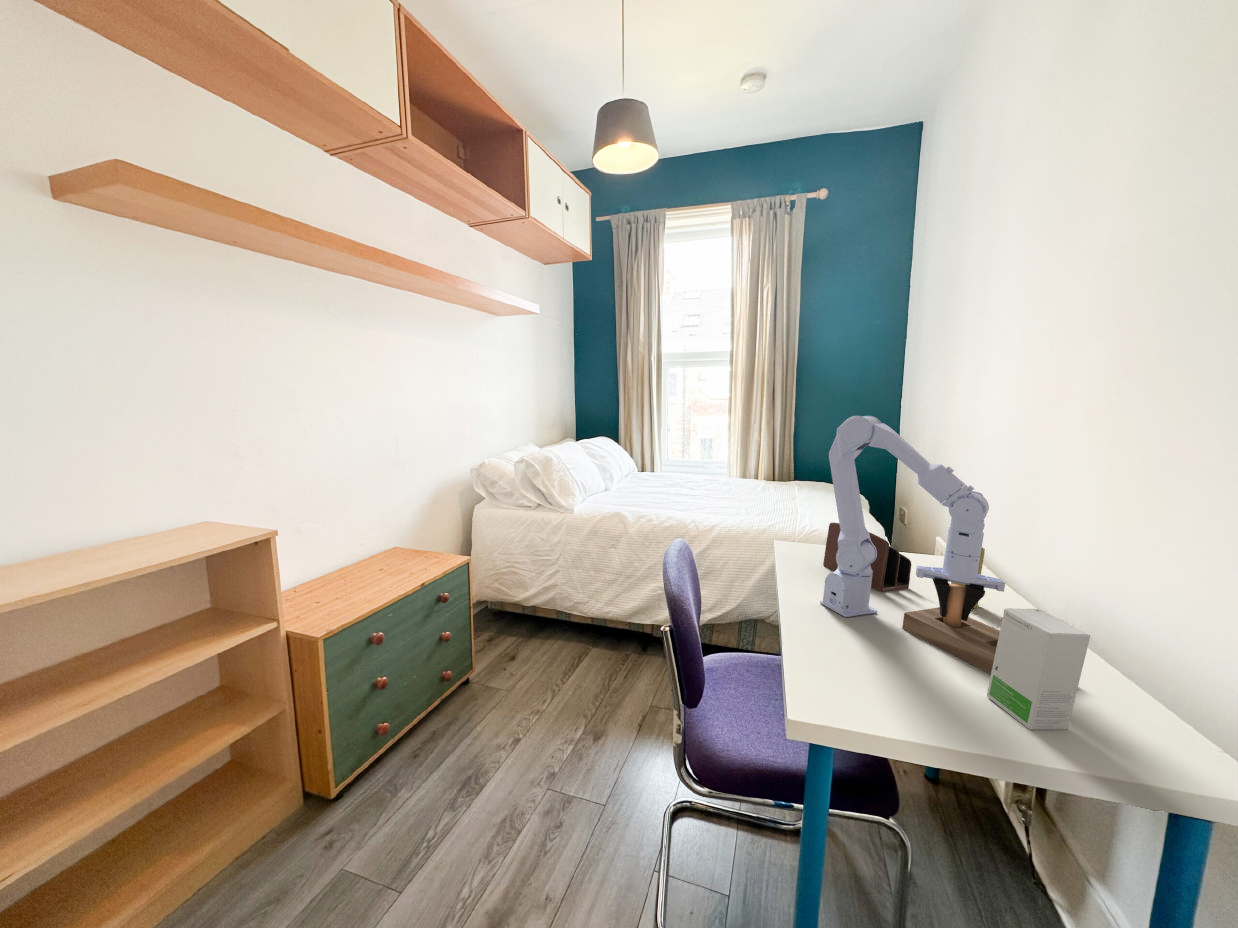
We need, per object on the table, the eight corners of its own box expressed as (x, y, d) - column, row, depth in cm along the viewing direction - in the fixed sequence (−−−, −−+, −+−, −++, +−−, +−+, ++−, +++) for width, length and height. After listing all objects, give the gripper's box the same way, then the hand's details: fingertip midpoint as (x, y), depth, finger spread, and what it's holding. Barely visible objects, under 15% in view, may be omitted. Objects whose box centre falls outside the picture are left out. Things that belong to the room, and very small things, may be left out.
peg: (953, 633, 97) (959, 590, 96) (938, 626, 99) (944, 584, 98) (963, 631, 98) (969, 588, 97) (948, 625, 100) (954, 583, 99)
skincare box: (985, 696, 79) (999, 606, 77) (1022, 696, 80) (1038, 607, 77) (1032, 732, 71) (1049, 632, 69) (1073, 731, 71) (1092, 632, 69)
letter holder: (880, 593, 122) (887, 539, 120) (822, 566, 140) (827, 518, 138) (909, 589, 125) (916, 536, 123) (848, 563, 144) (854, 517, 142)
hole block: (1017, 688, 82) (1020, 668, 81) (902, 628, 102) (904, 612, 102) (1061, 677, 86) (1064, 658, 85) (942, 621, 106) (944, 606, 106)
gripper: (1001, 553, 97) (991, 617, 99) (917, 541, 103) (909, 601, 105) (1012, 563, 90) (1001, 631, 92) (922, 550, 96) (913, 614, 98)
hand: (952, 616), depth 98 cm, fingers closed on peg, 3 cm apart
